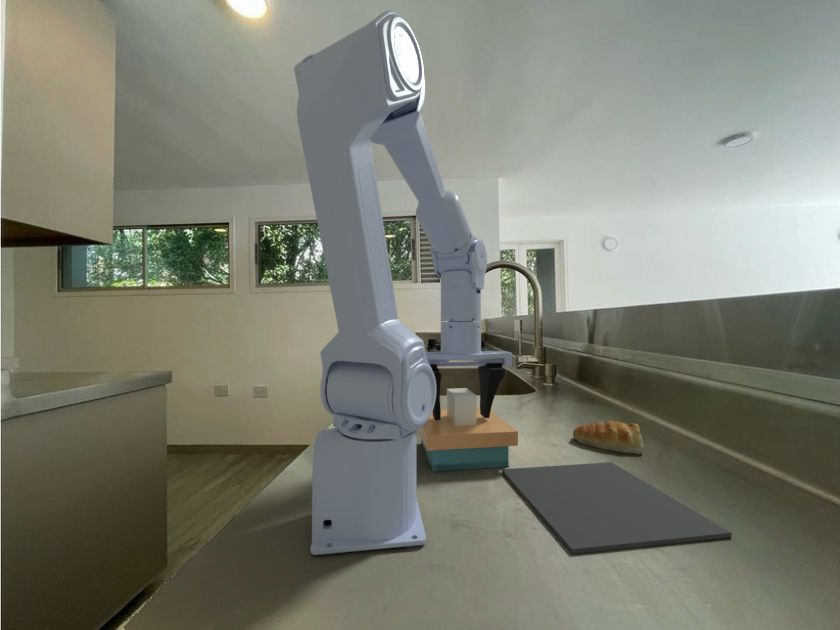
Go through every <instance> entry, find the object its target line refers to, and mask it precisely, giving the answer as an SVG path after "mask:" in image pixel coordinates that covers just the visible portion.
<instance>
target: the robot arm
mask: <svg viewBox="0 0 840 630" xmlns="http://www.w3.org/2000/svg"><path fill="white" fill-rule="evenodd" d="M422 56H423V55H422V52H421V49H420V45H419V43H418V41H417V38H416V36H415V34H414V32H413V30H412V28H411V26H410V24H408V22H407V21H406V20H405V19H404V18H403V17H402V16H401V15H400V14H398V13H397V12H396V11H393V10H385V11H383V12H382V13H380V14H379V15H377V16H376V17H375V18H373V20H371V21H370V22H369V23H367V24H366V25H363V26H361V27H360V28H358V29H356V30H354V31H352V32H351V33H349V34H347V35H346V36H344V37H342V38H341V39H339V40H337V41H335V42H334V43H332V44H329V45H328V46H327V47H325V48H323V49H321V50H319V51H316V52H313V53H310V54H309V55H307V56H306V57H304V58H303V59H302V60H301V61H299V62H298V63H297V64H295V65H294V67H293V70H294V76H295V80H296V81H295V82H296V86H297V91H298V98H297V105H296V118H297V123H298V128H299V135H300V141H301V144H302V150H303V154H304V155H303V157H304V159H305V166H306V170H307V175H308V181H309V186H310V191H311V195H312V201H313V206H314V211H315V216H316V222H317V227H318V228H317V229H318V232H319V237H320V242H321V246H322V253H323V257H324V264H325V267H326V268H325V269H326V273H327V278H328V284H329V288H330V293H331V299H332V304H333V308H334V309H333V310H334V313H335V319H336V323H337V331H338V332H337V333H336V334H335V335H334V336H333V338H332V339H331V340H329V341H328V343H326V345H325V346H324V347H322V348H323V349H321V351H320V353H319V355H320V358H321V359H320V360H321V366H322V367H321V368H322V375H321V380H320V398H321V403H322V405H323V407H324V409H325V410H326V411H327V413H329V414H330V415H332V424H333V425H332V426H333V428H325V429H324V428H323V429H320V430H318V431H317V434H316V436H315V437H316V438H315V441H314V447H313V457H312V469H311V470H312V471H311V472H312V473H311V476H312V478H311V483H312V485H311V488H312V489H311V490H312V491H311V493H312V494H311V544H310V554H311V555H313V556H316V555H317V556H318V555H327V554H328V555H329V554H339V553H349V552H350V553H351V552H352V553H353V552H361V551H370V550H381V549H393V548H403V547H412V546H422V545H425V544H426V543H427V534H426V531H425V526H424V522H423V518H422V515H421V511H420V507H419V503H418V499H417V431H418V429H420V428H421V427H423V425H424V424H425V423H426V421H427V420H428V419H429V417H430V415H431V413H432V412H433V417H434V419H435V420H440V417H441V410H442V409H441V380H442V373H441V372H440V369H439V368H438V367H477V370H478V380H479V392H480V393H479V408H480V414H481V415H482V416H483V417H484V418H489V417H490V411H491V412H492V406H493V403H494V400H495V396H496V394H497V392H498V391H497V390H498V389H499V386H500V384H501V382H502V381H503V379H504V378H505V376H506V368H505V367H509V366H510V367H512V366H513V365H512V364H513V362H512V361H513V360H512V358H513V357H512V356H513V353H512V352H510V351H503V350H501V351H496V350H494V351H490V350H487V351H486V350H485V351H483V350H482V322H481V321H482V311H481V310H482V306H481V305H482V301H481V300H482V296H481V295H482V294H481V293H482V290H483V289H484V287H485V275H486V272H487V268H488V267H487V266H488V258H487V257H488V256H487V249H486V245H485V244H484V241H483V240H482V239H478V237H476V236H474V234H473V232H472V230H471V226H470V225H469V221H468V219H467V217H466V214H465V211H464V210H463V207H462V203H461V202H460V199H459V196H458V195H457V193H455V192H454V191H452V190H449V189H447V188H445V186H444V182H443V180H442V176H441V173H440V170H439V167H438V163H437V161H436V156H435V155H434V152H433V149H432V144H431V141H430V139H429V136H428V132H427V130H426V126H425V123H424V119H423V116H422V111H423V109H424V104H425V100H426V80H425V78H426V77H425V73H424V72H425V71H424V63H423V57H422ZM372 144H377V145H380V146H383V147H384V148H385V149H386V150H385V151H387V152H388V154H389V156H390V158H391V159H392V161H393V162H394V165H395V166H396V168H397V169H398V171H399V173H400V174H401V176H402V177H403V179H404V181H405V183H407V185H408V187H409V189H410V191H411V192H412V194H413V195H414V196H415V198H416V200H417V202H418V204H417V206H416V209H415V217H416V219H417V221H418V224H419V225H420V227H421V228H422V231H423V233H424V234H425V236H426V239H427V241H428V242H429V244H430V249H429V251H430V255H431V258H432V266H433V270H434V274H435V275H436V276H437V277H438V278H439V279H440V351H426V349H425V343H424V340H423V339H422V338H420V336H418V335H417V334H416V333H414V332H413V331H412V330H411V329H410V328H408V327H407V326H405V325H404V323H402V321H400V319H399V316H398V309H397V303H396V297H395V296H396V295H395V289H394V283H393V277H392V271H391V265H390V258H389V252H388V245H387V238H386V234H385V232H386V231H385V227H384V226H385V225H384V221H383V219H384V218H383V213H382V212H383V211H382V206H381V200H380V194H379V188H378V180H377V175H376V174H377V173H376V169H375V161H374V155H373V148H372ZM450 361H451V362H450ZM453 361H454V362H453ZM458 361H459V362H458ZM503 366H504V367H503Z"/></svg>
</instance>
